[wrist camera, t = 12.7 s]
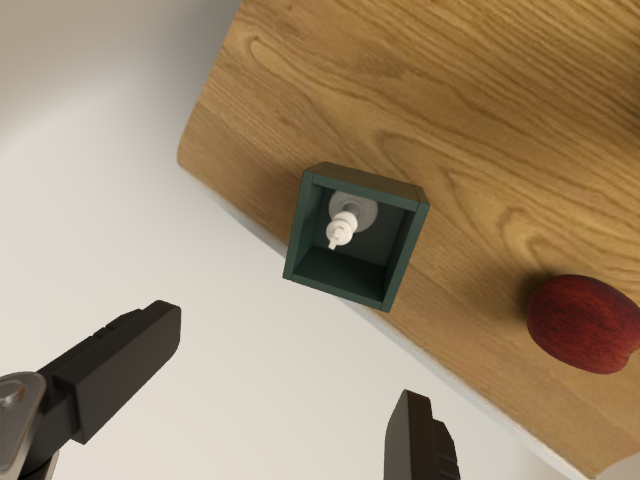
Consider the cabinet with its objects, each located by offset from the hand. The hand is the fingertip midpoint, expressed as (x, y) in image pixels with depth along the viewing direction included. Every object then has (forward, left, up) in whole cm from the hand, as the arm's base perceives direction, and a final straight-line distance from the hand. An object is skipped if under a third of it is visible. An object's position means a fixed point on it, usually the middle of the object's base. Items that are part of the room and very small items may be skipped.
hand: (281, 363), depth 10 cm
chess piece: (0, 0, -22) cm, 22 cm away
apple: (+20, -3, -22) cm, 30 cm away
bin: (0, -1, -22) cm, 22 cm away
